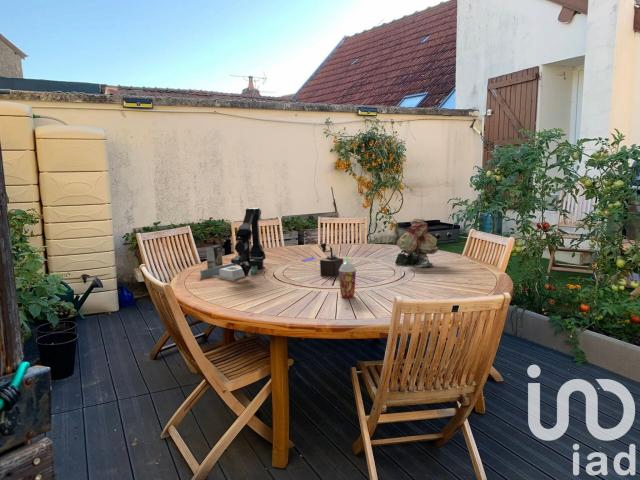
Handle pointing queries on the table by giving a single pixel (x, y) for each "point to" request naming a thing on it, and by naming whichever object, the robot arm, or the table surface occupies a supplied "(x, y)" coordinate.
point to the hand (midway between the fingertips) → (246, 276)
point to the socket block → (232, 272)
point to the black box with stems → (330, 264)
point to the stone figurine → (416, 245)
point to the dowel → (253, 270)
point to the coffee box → (214, 256)
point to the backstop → (215, 271)
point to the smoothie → (347, 279)
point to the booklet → (309, 259)
